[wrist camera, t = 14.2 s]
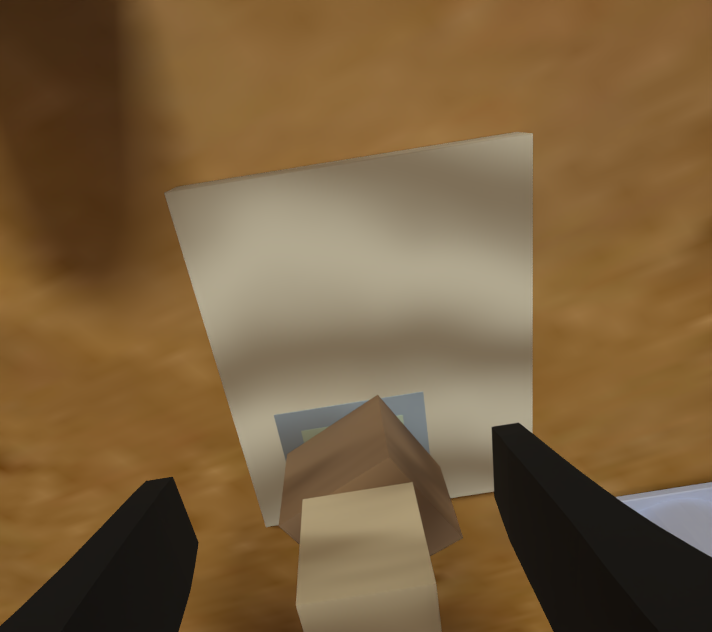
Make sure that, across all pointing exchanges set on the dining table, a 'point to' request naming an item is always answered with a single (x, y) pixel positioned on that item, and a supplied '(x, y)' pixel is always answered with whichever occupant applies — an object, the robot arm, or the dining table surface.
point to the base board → (370, 299)
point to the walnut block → (368, 470)
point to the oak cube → (365, 564)
